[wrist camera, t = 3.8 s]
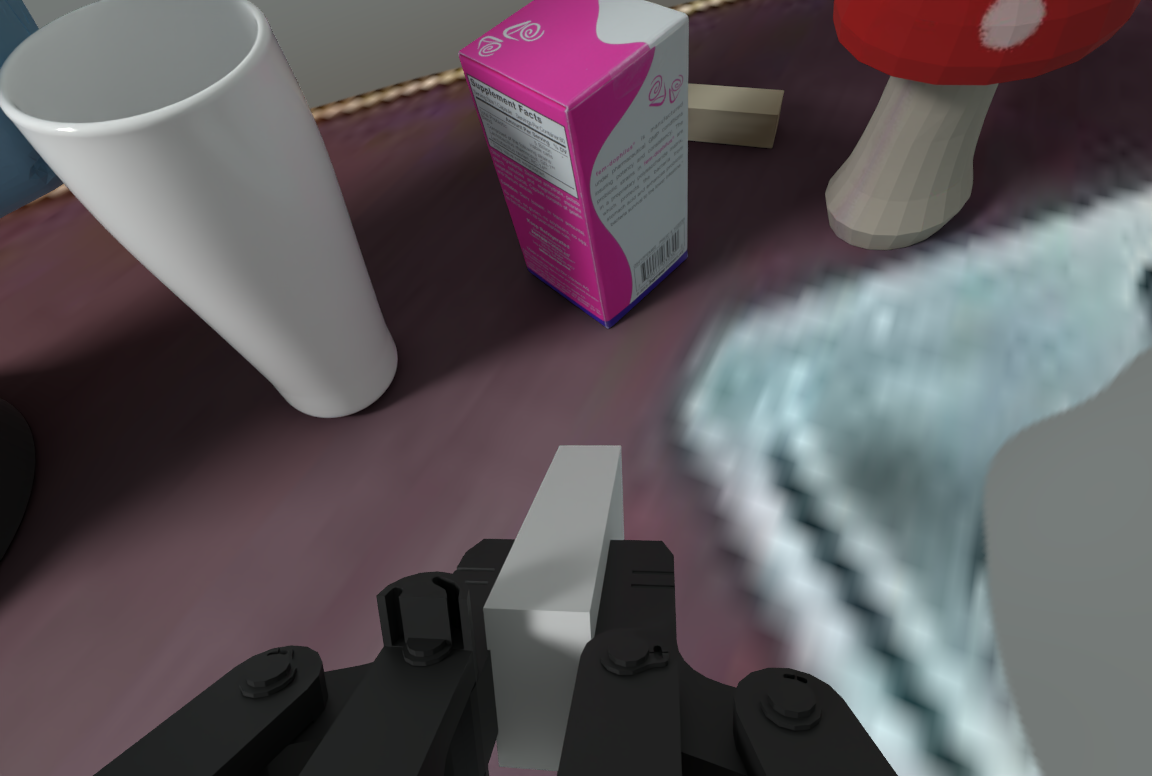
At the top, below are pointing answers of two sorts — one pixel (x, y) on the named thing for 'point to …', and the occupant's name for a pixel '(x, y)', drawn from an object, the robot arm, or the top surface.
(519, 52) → the supplement box
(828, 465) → the top surface
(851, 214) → the decorative mushroom
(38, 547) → the top surface
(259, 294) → the drinking glass
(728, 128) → the bar
